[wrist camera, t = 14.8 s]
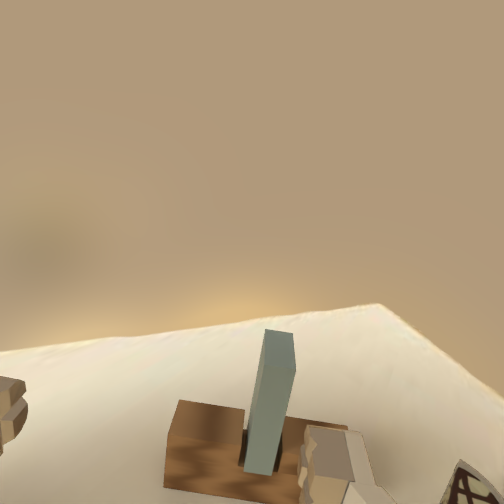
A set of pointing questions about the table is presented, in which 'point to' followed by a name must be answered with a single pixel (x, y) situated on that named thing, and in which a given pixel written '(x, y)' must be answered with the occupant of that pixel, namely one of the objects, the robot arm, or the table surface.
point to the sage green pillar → (269, 401)
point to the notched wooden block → (230, 455)
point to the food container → (470, 488)
